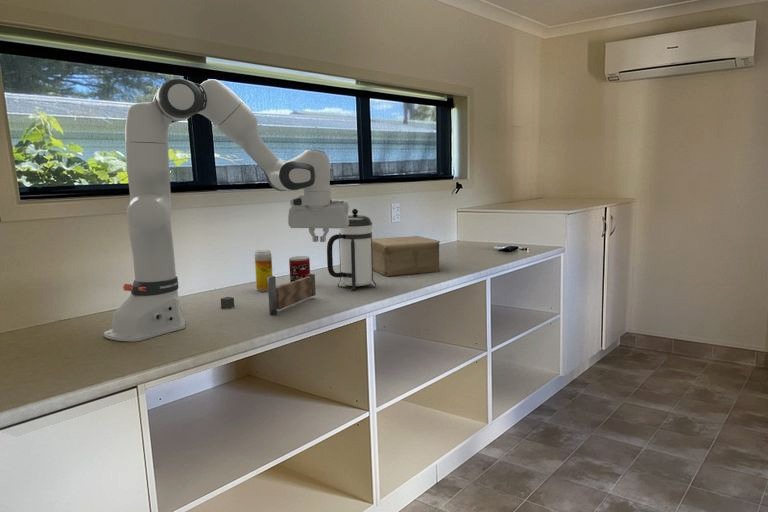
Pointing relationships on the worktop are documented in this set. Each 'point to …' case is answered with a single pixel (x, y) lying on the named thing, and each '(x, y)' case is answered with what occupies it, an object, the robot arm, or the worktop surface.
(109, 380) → the worktop surface
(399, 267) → the paper package
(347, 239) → the coffee press
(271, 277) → the gate post
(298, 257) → the canned food
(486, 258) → the worktop surface
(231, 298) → the dark grey cube
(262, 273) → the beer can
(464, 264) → the worktop surface
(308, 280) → the gate
